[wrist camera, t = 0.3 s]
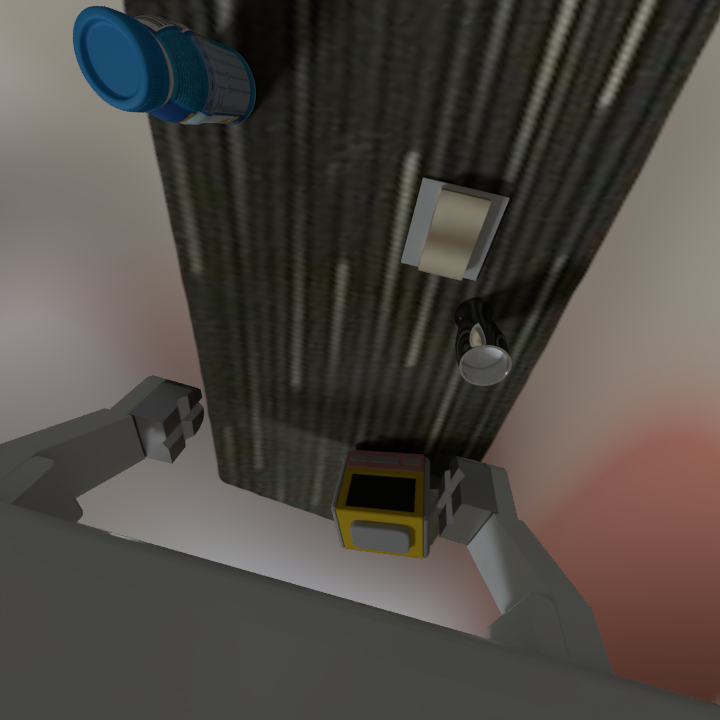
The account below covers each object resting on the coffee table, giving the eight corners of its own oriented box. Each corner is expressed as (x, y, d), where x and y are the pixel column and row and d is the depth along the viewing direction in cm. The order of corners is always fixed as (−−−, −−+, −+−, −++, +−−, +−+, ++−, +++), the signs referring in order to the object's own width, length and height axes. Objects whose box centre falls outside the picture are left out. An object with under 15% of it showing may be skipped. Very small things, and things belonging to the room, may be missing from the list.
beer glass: (489, 289, 53) (506, 337, 41) (499, 325, 56) (518, 379, 44) (446, 304, 56) (450, 353, 43) (458, 338, 59) (465, 392, 47)
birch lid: (441, 186, 46) (441, 189, 43) (488, 197, 45) (491, 201, 43) (418, 263, 52) (417, 269, 50) (459, 273, 52) (461, 280, 49)
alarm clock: (430, 447, 75) (430, 525, 60) (429, 490, 84) (429, 567, 69) (346, 442, 79) (326, 514, 64) (354, 483, 88) (338, 555, 73)
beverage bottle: (271, 95, 44) (177, 74, 27) (231, 140, 47) (127, 145, 31) (224, 24, 40) (86, -47, 24) (185, 78, 44) (43, 47, 28)
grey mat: (423, 177, 46) (423, 177, 45) (508, 197, 45) (509, 198, 45) (401, 261, 53) (401, 262, 52) (475, 279, 52) (475, 280, 52)
